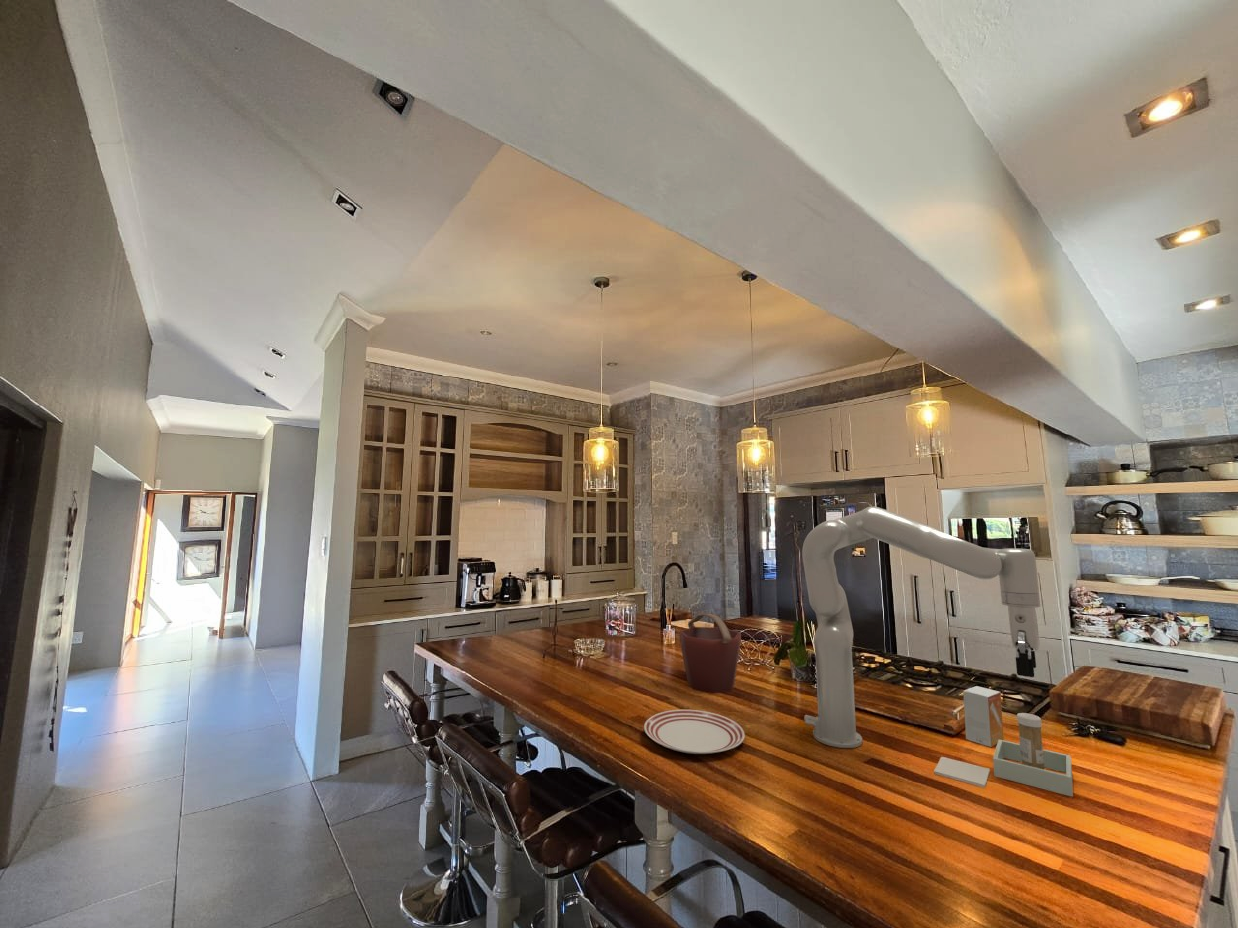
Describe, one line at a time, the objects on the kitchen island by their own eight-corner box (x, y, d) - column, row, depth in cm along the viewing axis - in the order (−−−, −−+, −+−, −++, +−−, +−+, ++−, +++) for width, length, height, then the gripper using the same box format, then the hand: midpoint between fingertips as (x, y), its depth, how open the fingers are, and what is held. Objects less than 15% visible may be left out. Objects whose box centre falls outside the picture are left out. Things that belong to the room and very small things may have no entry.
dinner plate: (763, 738, 143) (763, 726, 143) (708, 774, 123) (708, 759, 124) (682, 713, 162) (682, 702, 162) (623, 740, 142) (623, 727, 142)
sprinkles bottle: (1049, 780, 120) (1044, 720, 121) (1026, 777, 121) (1021, 717, 123) (1040, 771, 124) (1035, 713, 126) (1017, 768, 126) (1013, 711, 127)
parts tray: (994, 775, 122) (992, 758, 123) (999, 755, 133) (998, 739, 133) (1072, 796, 113) (1071, 777, 113) (1072, 773, 124) (1070, 755, 124)
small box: (991, 747, 137) (988, 696, 139) (965, 739, 142) (962, 690, 144) (1004, 740, 142) (1001, 691, 143) (978, 732, 147) (975, 685, 148)
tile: (934, 773, 123) (933, 770, 123) (941, 758, 131) (941, 756, 131) (985, 787, 117) (984, 784, 117) (989, 771, 124) (989, 768, 124)
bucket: (675, 675, 199) (674, 609, 202) (731, 674, 202) (729, 608, 205) (691, 697, 175) (690, 622, 178) (754, 695, 178) (752, 620, 180)
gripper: (1038, 605, 118) (1045, 682, 116) (1041, 596, 131) (1047, 666, 129) (997, 602, 123) (1004, 676, 121) (1004, 593, 136) (1010, 661, 134)
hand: (1026, 671), depth 125 cm, fingers open, 9 cm apart
